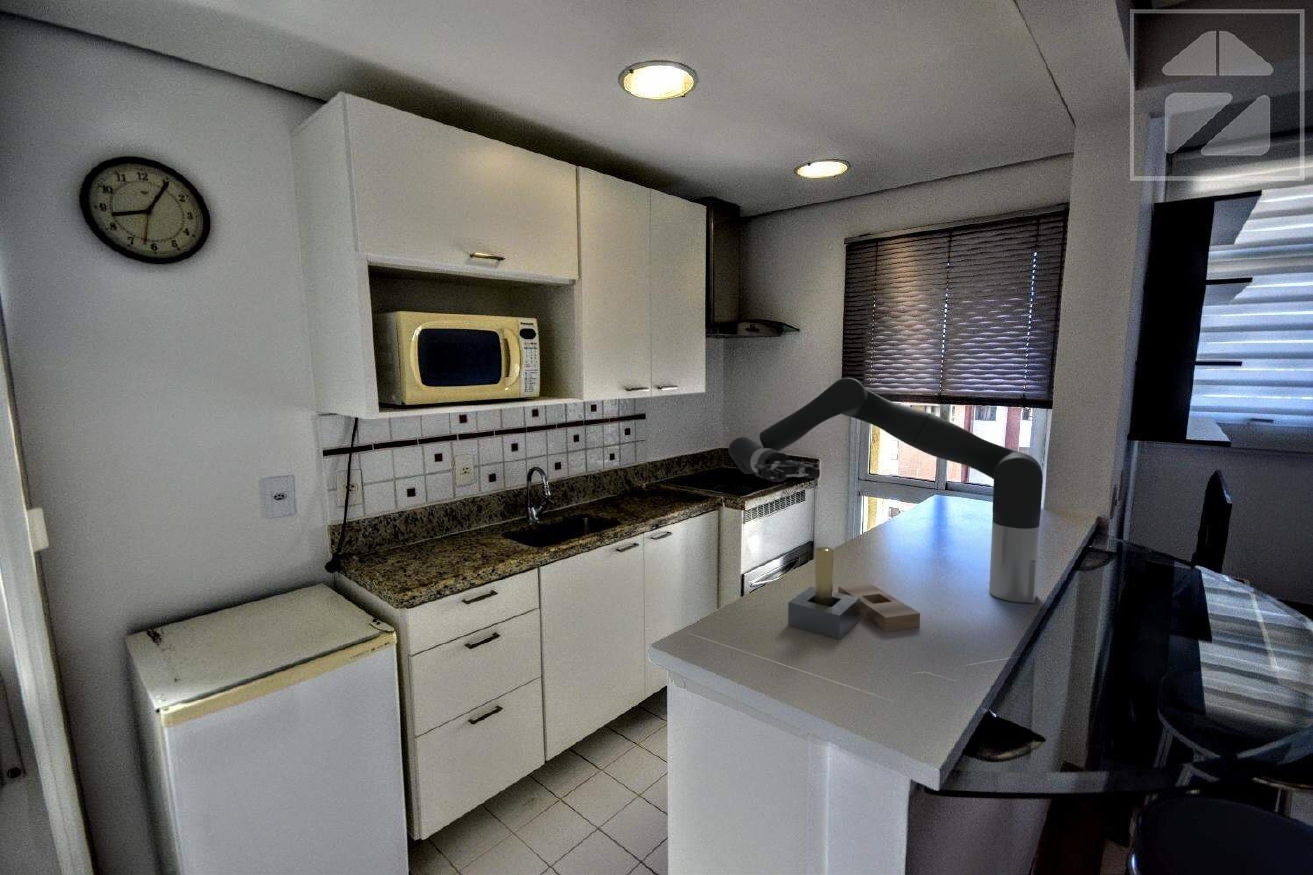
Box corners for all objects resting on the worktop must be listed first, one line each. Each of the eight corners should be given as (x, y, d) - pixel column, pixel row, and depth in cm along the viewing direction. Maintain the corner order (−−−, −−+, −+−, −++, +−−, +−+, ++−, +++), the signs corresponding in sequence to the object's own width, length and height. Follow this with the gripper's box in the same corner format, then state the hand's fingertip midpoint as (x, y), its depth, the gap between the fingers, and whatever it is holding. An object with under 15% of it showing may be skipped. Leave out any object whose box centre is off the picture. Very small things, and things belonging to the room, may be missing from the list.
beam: (838, 598, 134) (838, 585, 134) (868, 594, 136) (868, 582, 135) (885, 631, 117) (885, 617, 116) (919, 626, 118) (920, 613, 118)
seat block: (859, 620, 122) (859, 597, 121) (839, 639, 114) (839, 615, 113) (810, 607, 129) (810, 586, 128) (788, 625, 120) (788, 602, 120)
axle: (835, 621, 122) (835, 548, 120) (828, 627, 119) (829, 553, 117) (818, 617, 124) (819, 545, 122) (812, 623, 121) (812, 550, 119)
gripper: (743, 450, 142) (770, 460, 127) (796, 447, 145) (829, 456, 130) (743, 480, 143) (771, 493, 127) (796, 477, 146) (829, 489, 131)
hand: (800, 474), depth 129 cm, fingers open, 8 cm apart
